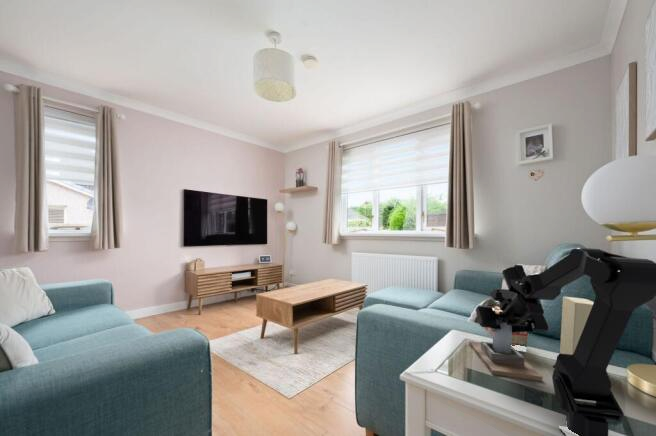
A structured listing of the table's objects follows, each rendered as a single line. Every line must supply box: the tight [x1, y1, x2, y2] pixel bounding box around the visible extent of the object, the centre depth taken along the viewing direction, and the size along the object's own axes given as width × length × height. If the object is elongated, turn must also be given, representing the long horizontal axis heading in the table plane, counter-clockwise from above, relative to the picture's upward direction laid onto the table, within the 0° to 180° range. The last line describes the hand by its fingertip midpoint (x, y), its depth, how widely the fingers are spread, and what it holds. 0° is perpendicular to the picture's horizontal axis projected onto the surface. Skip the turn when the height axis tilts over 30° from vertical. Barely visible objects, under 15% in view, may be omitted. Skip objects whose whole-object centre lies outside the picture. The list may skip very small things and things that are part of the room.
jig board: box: [468, 340, 543, 382], centre depth 88 cm, size 20×13×4 cm, turn 170°
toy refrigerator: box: [559, 296, 594, 355], centre depth 86 cm, size 8×7×21 cm
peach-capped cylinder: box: [492, 310, 512, 355], centre depth 88 cm, size 5×5×13 cm
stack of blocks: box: [484, 305, 529, 348], centre depth 106 cm, size 21×6×12 cm, turn 170°
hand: (500, 330), depth 89 cm, fingers closed on peach-capped cylinder, 5 cm apart
